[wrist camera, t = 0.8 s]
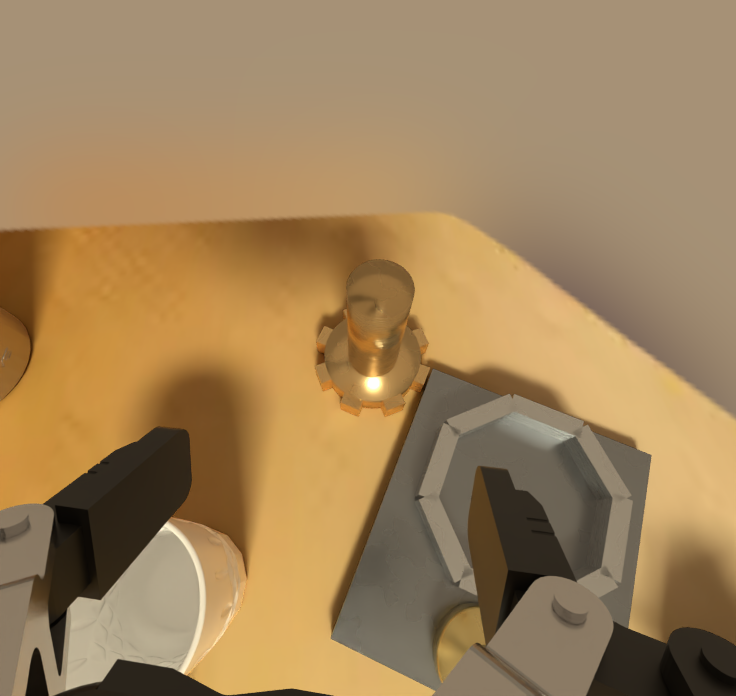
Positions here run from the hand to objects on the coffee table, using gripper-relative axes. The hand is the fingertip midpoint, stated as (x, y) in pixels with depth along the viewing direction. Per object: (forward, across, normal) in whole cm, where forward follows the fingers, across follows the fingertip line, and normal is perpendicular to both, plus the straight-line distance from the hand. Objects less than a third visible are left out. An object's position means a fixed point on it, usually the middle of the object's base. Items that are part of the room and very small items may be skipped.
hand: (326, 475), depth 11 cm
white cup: (+10, +10, +16) cm, 21 cm away
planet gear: (+20, +1, +4) cm, 21 cm away
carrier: (+14, -9, +12) cm, 21 cm away
